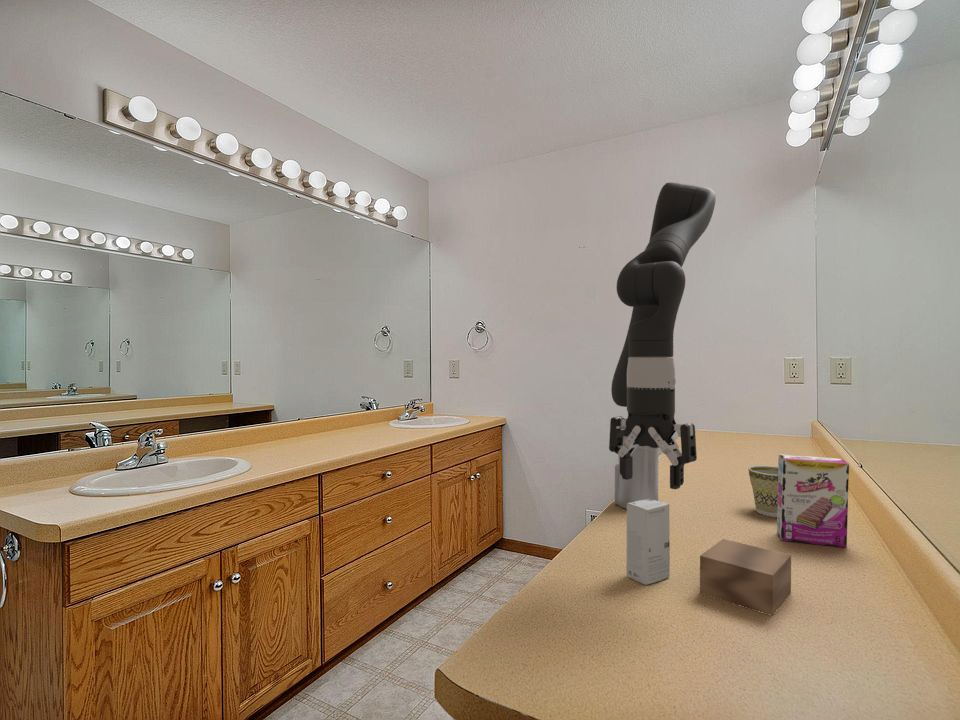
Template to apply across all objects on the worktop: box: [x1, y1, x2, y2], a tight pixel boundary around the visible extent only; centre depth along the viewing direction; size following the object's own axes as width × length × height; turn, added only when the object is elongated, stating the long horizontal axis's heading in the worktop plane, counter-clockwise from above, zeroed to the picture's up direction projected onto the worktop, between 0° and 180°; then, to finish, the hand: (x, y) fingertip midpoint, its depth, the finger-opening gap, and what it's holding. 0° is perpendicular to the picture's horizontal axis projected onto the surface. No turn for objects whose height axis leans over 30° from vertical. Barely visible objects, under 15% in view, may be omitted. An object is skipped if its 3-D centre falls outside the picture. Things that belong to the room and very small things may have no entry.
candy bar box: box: [776, 454, 850, 548], centre depth 101 cm, size 11×5×16 cm, turn 71°
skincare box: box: [625, 499, 671, 586], centre depth 84 cm, size 6×4×12 cm
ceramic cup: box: [748, 465, 778, 518], centre depth 117 cm, size 13×10×10 cm
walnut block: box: [699, 538, 792, 616], centre depth 79 cm, size 10×10×6 cm
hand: (650, 483), depth 84 cm, fingers open, 8 cm apart
